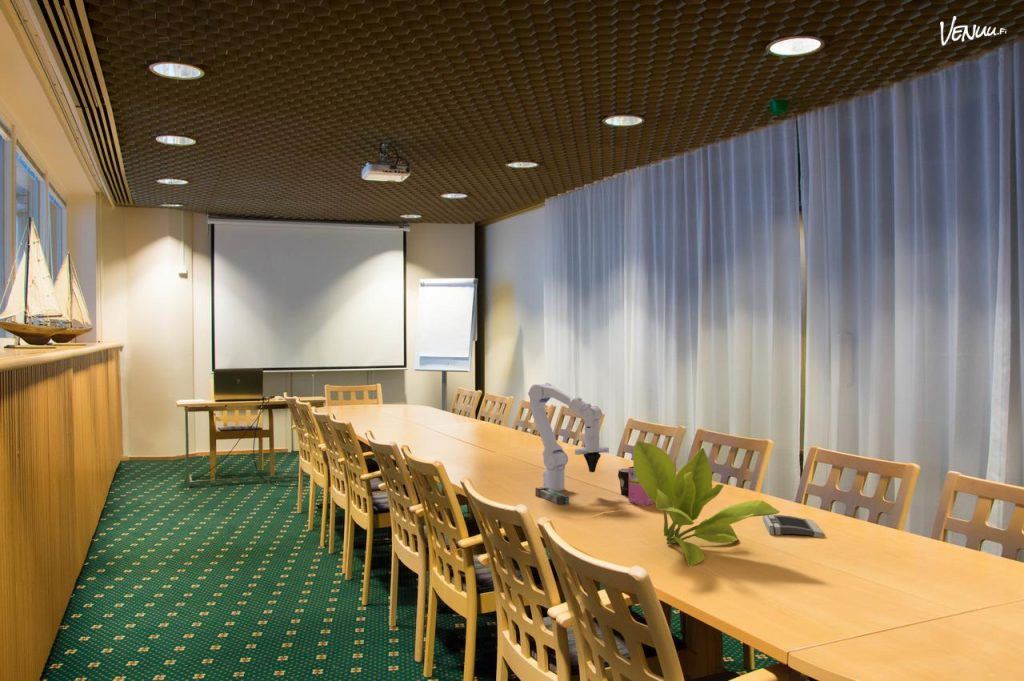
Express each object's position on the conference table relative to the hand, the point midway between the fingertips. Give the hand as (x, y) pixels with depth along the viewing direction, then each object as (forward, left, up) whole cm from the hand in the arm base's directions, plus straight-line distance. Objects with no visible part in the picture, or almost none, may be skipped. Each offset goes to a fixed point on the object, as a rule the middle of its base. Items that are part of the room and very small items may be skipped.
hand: (592, 471), depth 298 cm
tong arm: (+5, -18, -9) cm, 20 cm away
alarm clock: (+73, +31, -10) cm, 80 cm away
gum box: (+17, +17, -10) cm, 26 cm away
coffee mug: (+5, +14, -10) cm, 18 cm away
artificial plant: (+77, -12, -10) cm, 78 cm away
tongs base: (+2, -19, -9) cm, 21 cm away
